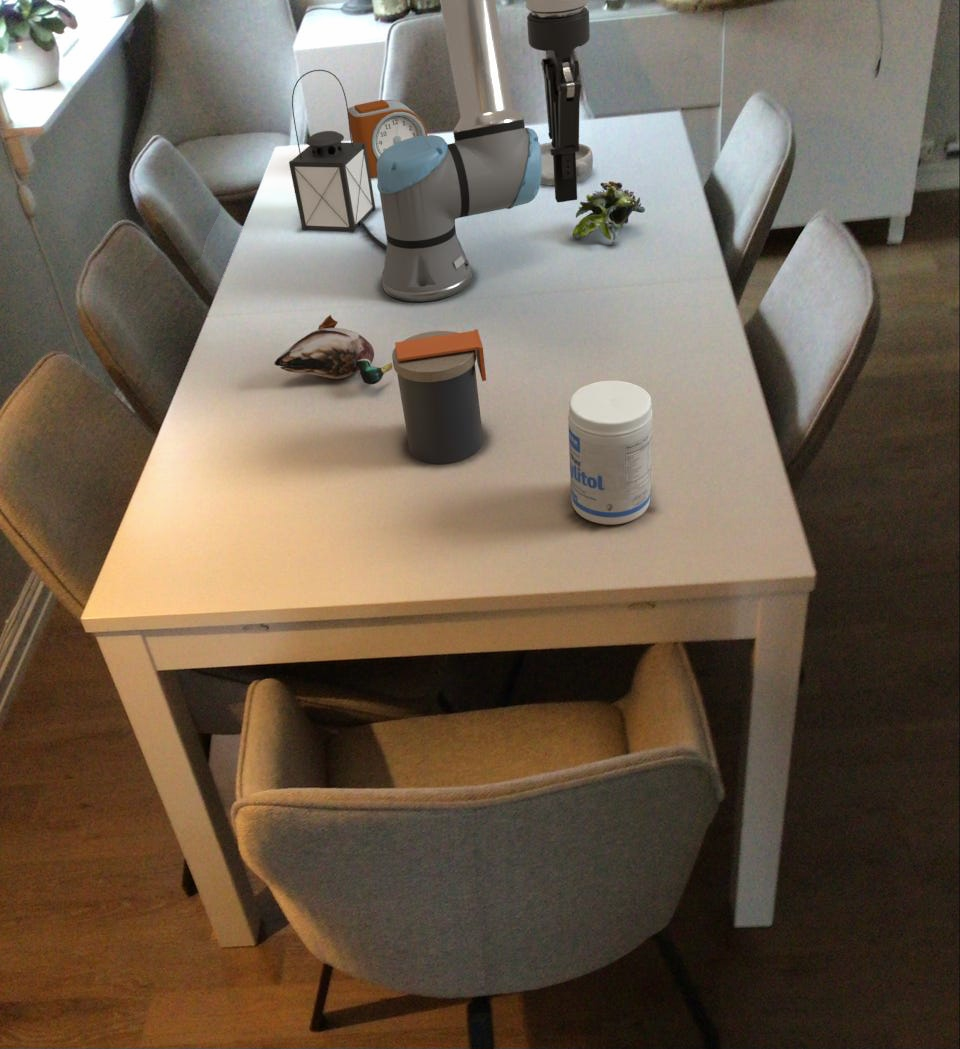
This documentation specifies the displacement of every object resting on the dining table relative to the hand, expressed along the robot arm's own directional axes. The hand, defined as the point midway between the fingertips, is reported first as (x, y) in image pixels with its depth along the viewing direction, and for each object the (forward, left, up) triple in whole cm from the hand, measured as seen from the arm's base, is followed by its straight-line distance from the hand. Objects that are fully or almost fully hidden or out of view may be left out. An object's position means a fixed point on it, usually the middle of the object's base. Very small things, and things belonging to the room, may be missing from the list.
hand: (566, 198), depth 145 cm
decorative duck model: (-23, -27, -25) cm, 43 cm away
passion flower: (-25, +36, -25) cm, 50 cm away
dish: (-54, +53, -25) cm, 80 cm away
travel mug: (+2, -27, -24) cm, 36 cm away
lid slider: (+2, -26, -14) cm, 30 cm away
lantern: (-74, +12, -25) cm, 79 cm away
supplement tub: (+28, -23, -25) cm, 44 cm away
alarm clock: (-88, +37, -25) cm, 99 cm away
